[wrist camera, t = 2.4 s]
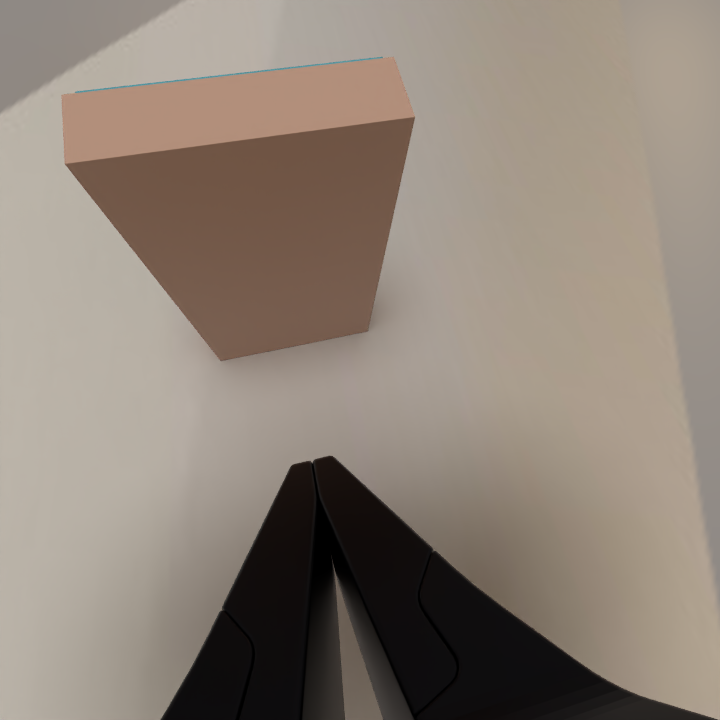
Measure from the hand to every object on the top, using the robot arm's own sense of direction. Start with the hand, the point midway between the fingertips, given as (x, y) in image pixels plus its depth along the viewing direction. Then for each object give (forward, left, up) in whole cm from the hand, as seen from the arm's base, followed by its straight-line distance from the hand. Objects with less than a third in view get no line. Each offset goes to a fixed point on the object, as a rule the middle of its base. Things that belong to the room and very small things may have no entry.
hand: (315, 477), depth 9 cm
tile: (+8, -4, -13) cm, 16 cm away
